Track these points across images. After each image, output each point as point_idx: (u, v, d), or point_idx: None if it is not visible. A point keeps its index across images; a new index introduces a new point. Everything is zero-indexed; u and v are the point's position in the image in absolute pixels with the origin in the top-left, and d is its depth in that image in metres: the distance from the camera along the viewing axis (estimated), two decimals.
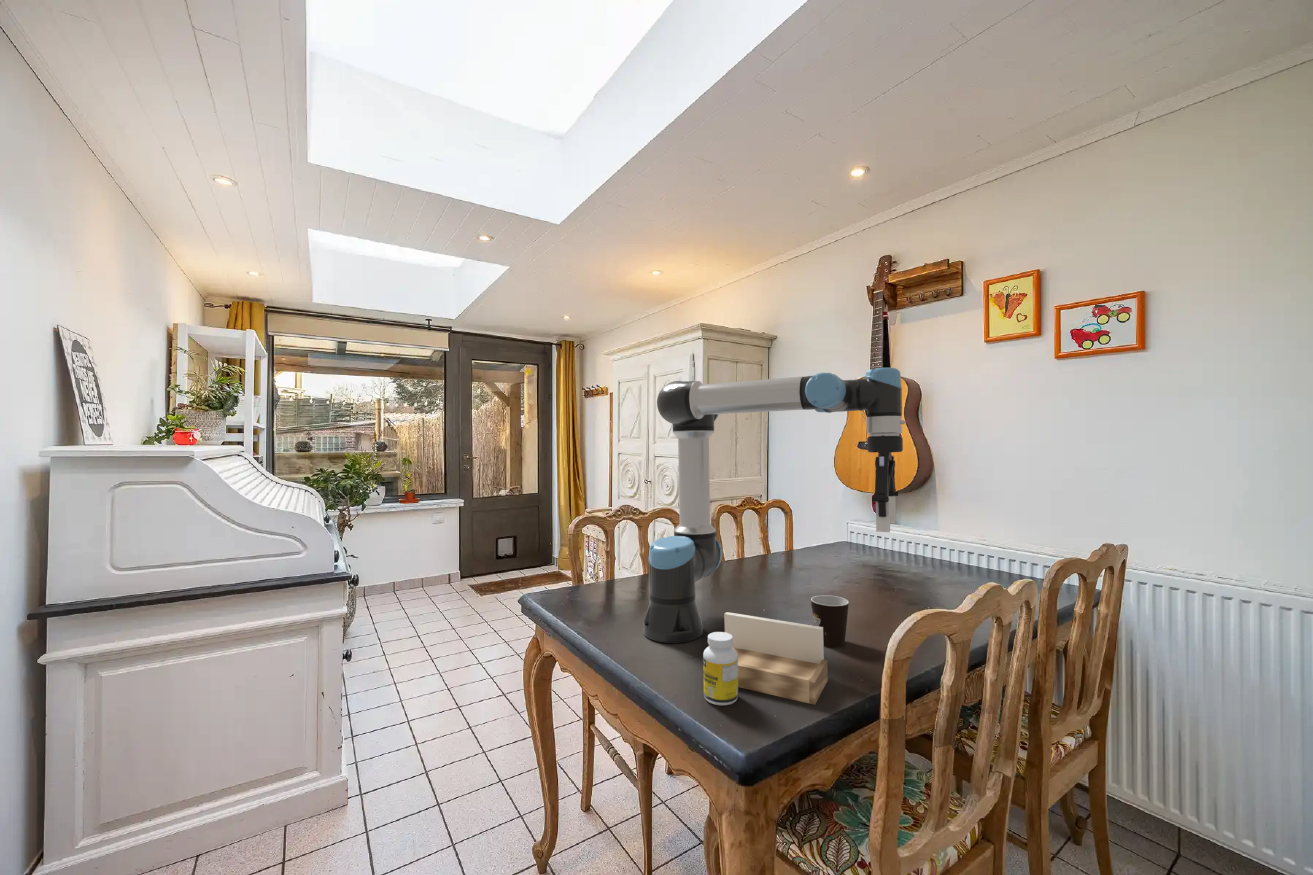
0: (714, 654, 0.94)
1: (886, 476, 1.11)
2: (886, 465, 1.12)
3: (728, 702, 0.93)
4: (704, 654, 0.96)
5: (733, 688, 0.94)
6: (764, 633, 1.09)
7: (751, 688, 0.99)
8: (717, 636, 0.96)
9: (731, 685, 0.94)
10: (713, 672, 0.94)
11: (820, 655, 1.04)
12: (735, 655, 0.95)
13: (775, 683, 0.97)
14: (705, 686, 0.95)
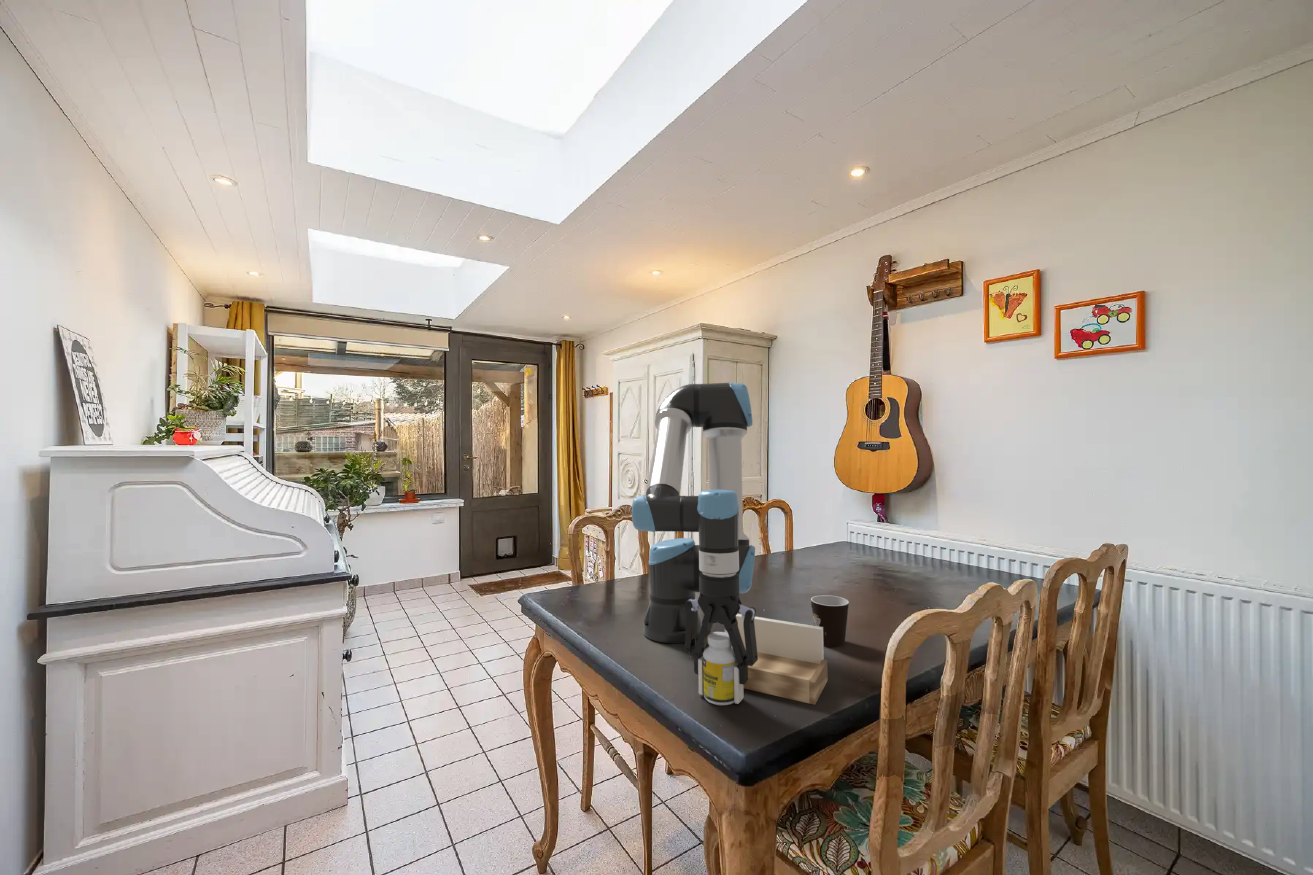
0: (714, 654, 0.94)
1: None
2: None
3: (728, 702, 0.93)
4: (704, 654, 0.96)
5: (733, 688, 0.94)
6: (764, 633, 1.09)
7: (751, 688, 0.99)
8: (717, 636, 0.96)
9: (731, 685, 0.94)
10: (713, 672, 0.94)
11: (820, 655, 1.04)
12: None
13: (775, 683, 0.97)
14: (705, 686, 0.95)
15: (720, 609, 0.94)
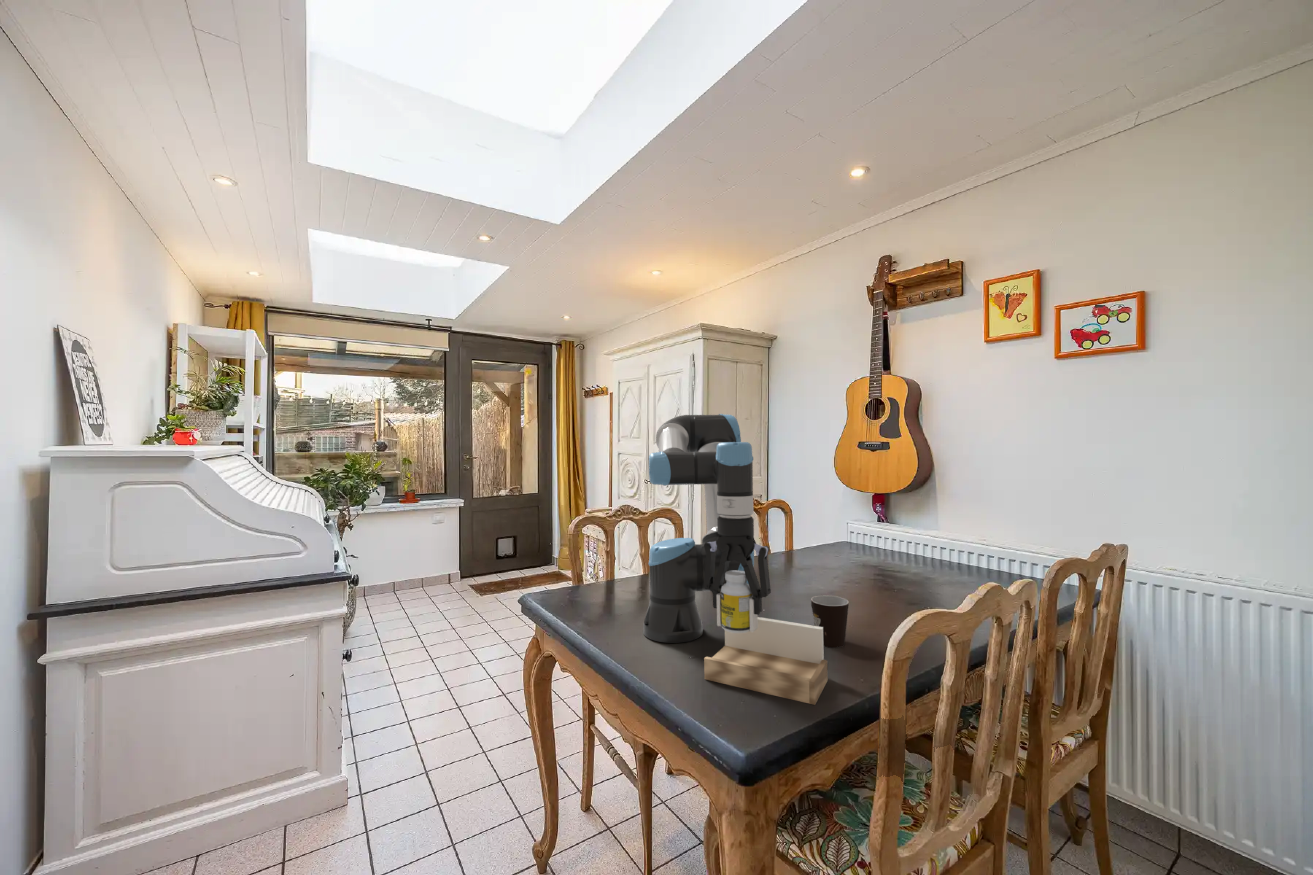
0: (731, 587, 1.05)
1: None
2: None
3: (744, 630, 1.04)
4: (722, 589, 1.06)
5: (748, 618, 1.04)
6: (764, 633, 1.09)
7: (751, 688, 0.99)
8: (734, 573, 1.07)
9: (746, 615, 1.04)
10: (731, 603, 1.04)
11: (820, 655, 1.04)
12: (750, 589, 1.05)
13: (775, 683, 0.97)
14: (723, 617, 1.06)
15: (737, 547, 1.05)
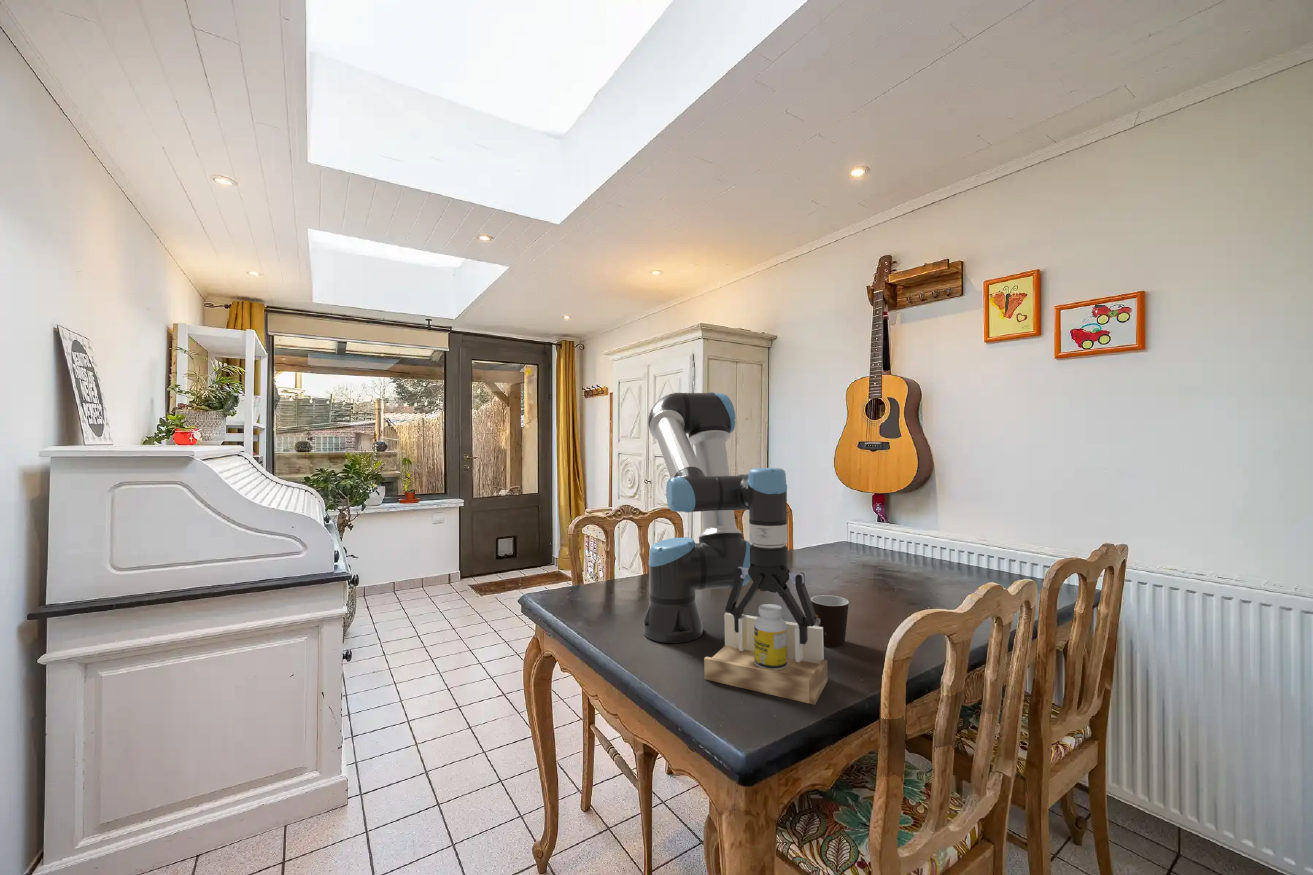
0: (765, 623, 1.01)
1: None
2: None
3: (779, 668, 1.00)
4: (755, 624, 1.03)
5: (783, 655, 1.01)
6: None
7: (751, 688, 0.99)
8: (767, 607, 1.03)
9: (781, 652, 1.01)
10: (765, 640, 1.01)
11: (820, 655, 1.04)
12: (785, 625, 1.02)
13: (775, 683, 0.97)
14: (757, 653, 1.02)
15: (770, 578, 1.01)
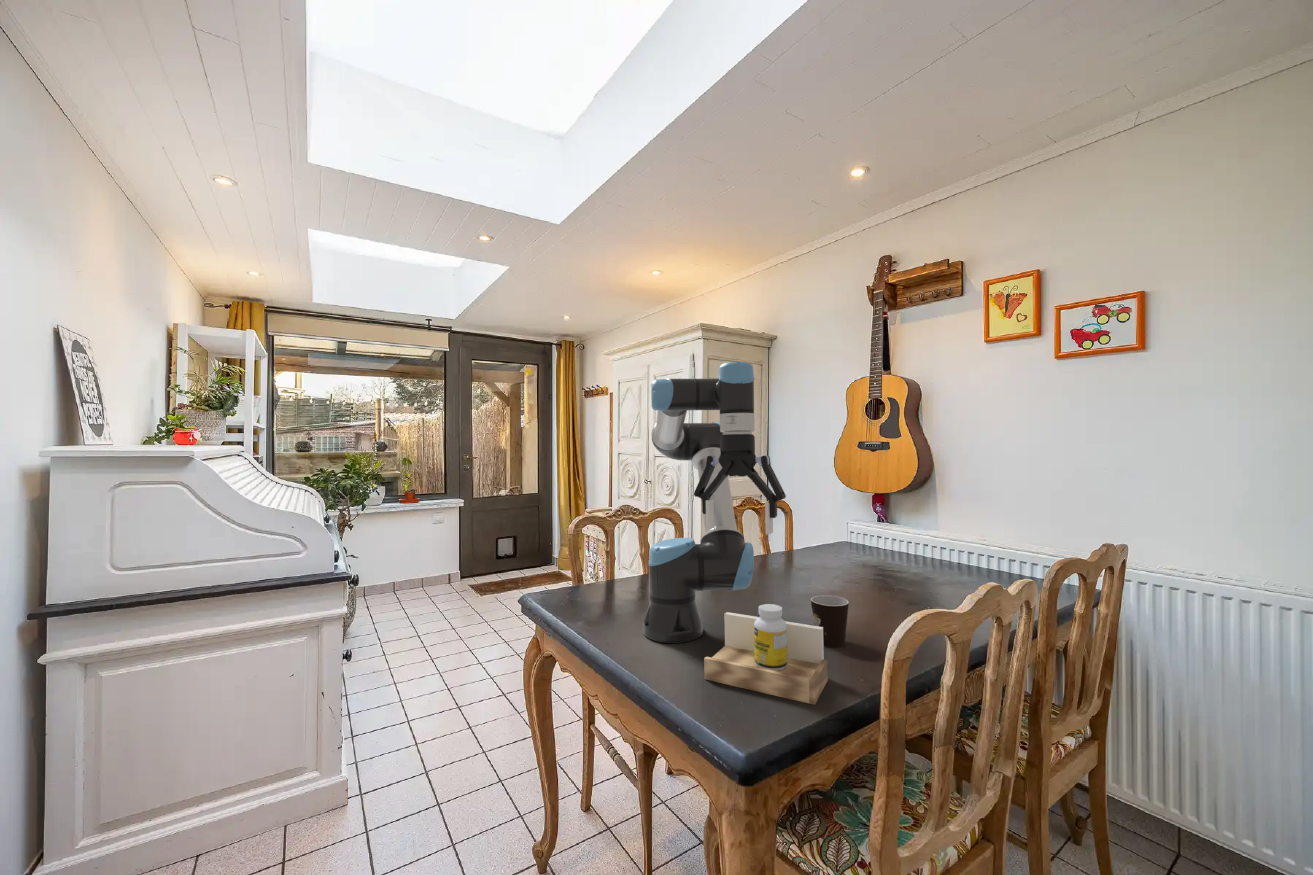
0: (765, 623, 1.01)
1: None
2: None
3: (779, 668, 1.00)
4: (755, 624, 1.03)
5: (783, 655, 1.01)
6: None
7: (751, 688, 0.99)
8: (767, 607, 1.03)
9: (781, 652, 1.01)
10: (765, 640, 1.01)
11: (820, 655, 1.04)
12: (785, 625, 1.02)
13: (775, 683, 0.97)
14: (757, 653, 1.02)
15: (738, 463, 1.10)
